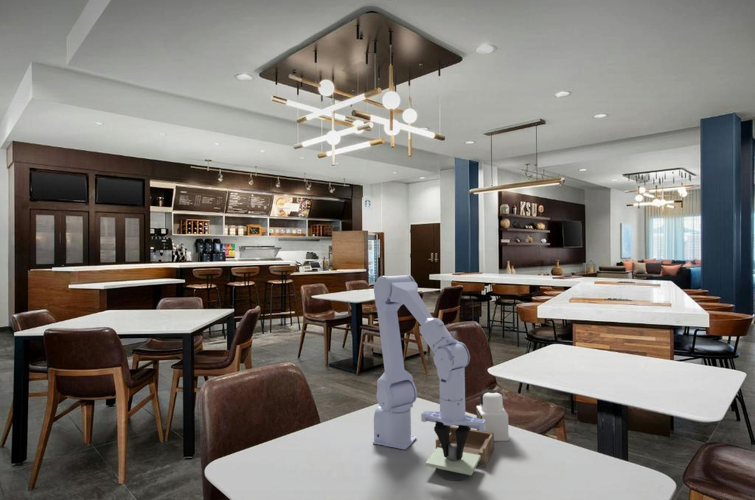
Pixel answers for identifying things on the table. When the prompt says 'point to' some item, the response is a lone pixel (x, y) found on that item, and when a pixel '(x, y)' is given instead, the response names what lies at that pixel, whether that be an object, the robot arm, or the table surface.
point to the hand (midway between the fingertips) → (453, 456)
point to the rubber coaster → (451, 475)
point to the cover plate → (453, 466)
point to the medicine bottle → (493, 414)
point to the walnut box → (474, 443)
